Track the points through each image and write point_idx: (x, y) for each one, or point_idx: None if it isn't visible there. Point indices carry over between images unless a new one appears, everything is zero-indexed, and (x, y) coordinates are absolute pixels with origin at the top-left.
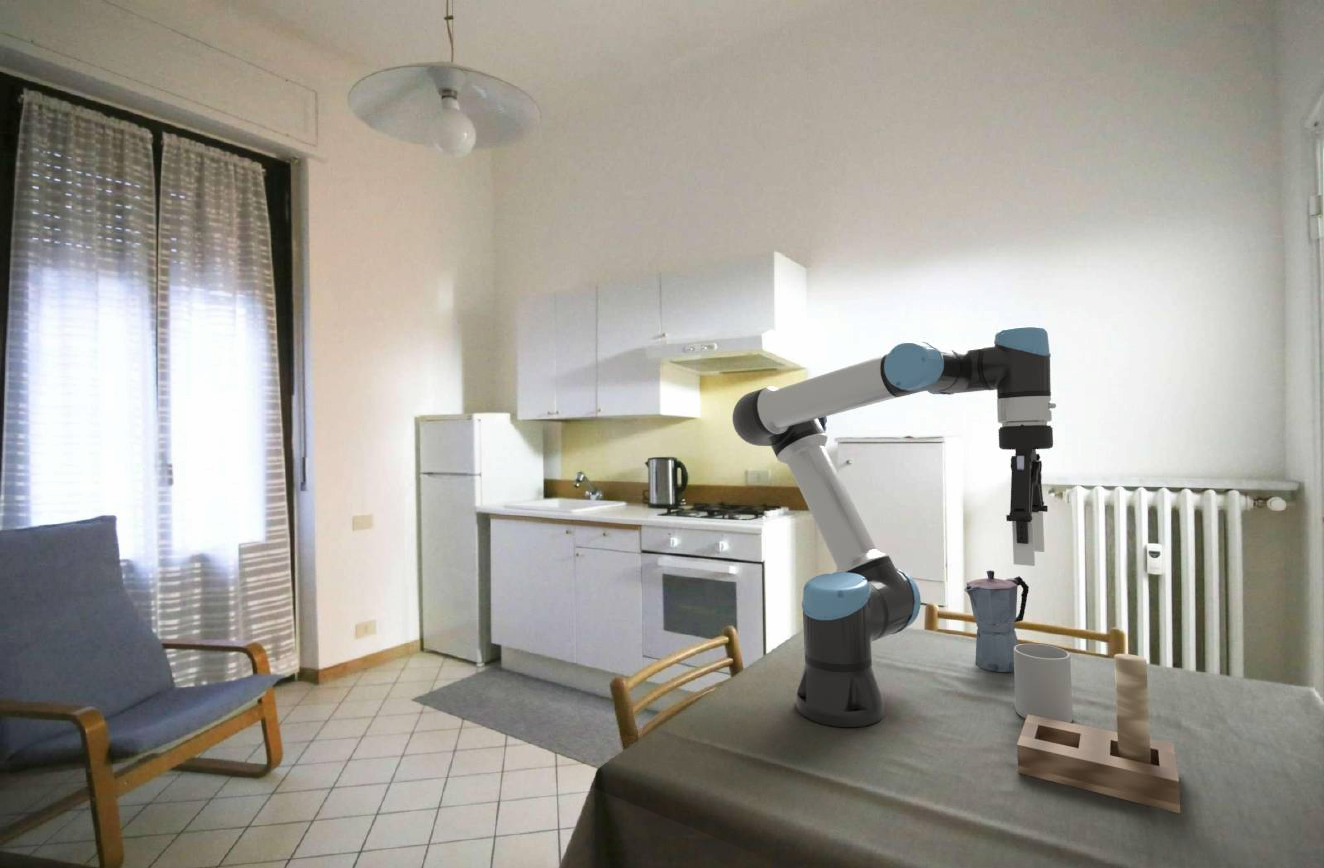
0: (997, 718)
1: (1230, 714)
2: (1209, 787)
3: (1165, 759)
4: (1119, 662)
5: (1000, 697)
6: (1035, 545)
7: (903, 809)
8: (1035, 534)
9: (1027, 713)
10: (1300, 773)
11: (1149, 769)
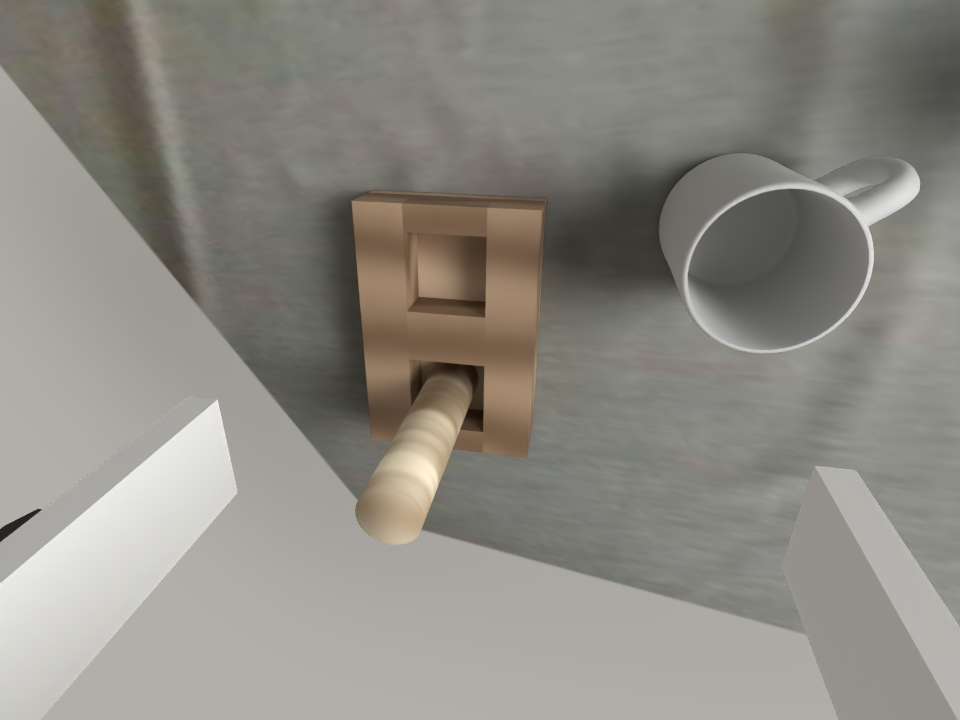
0: (650, 113)
1: None
2: (502, 461)
3: None
4: (364, 491)
5: (833, 99)
6: (813, 560)
7: (99, 7)
8: (842, 645)
9: (674, 191)
10: (625, 574)
11: (388, 408)
